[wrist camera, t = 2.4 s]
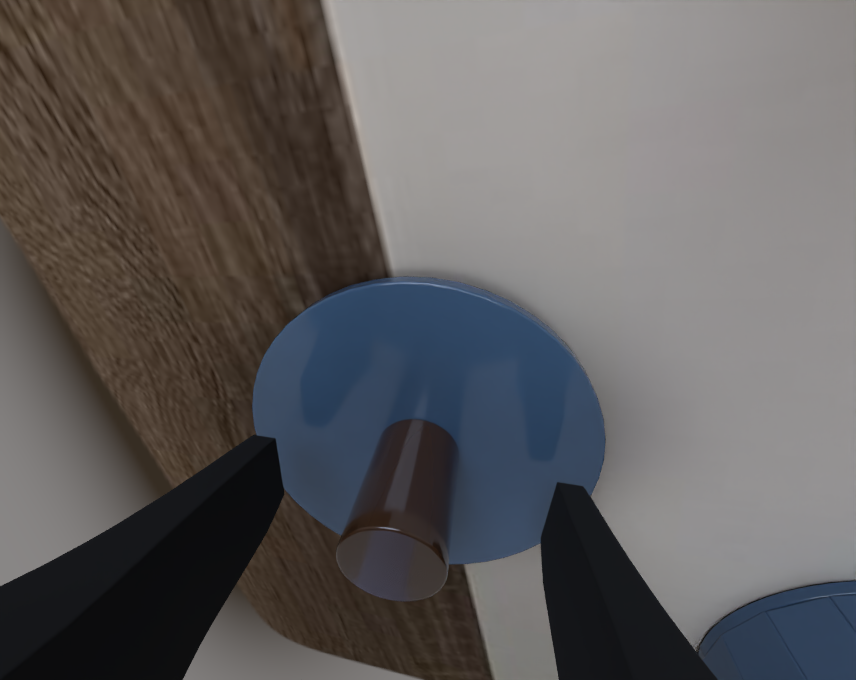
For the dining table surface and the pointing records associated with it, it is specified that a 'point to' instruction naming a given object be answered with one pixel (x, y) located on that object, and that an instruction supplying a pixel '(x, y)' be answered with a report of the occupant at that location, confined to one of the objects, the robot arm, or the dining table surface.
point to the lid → (425, 427)
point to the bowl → (788, 637)
